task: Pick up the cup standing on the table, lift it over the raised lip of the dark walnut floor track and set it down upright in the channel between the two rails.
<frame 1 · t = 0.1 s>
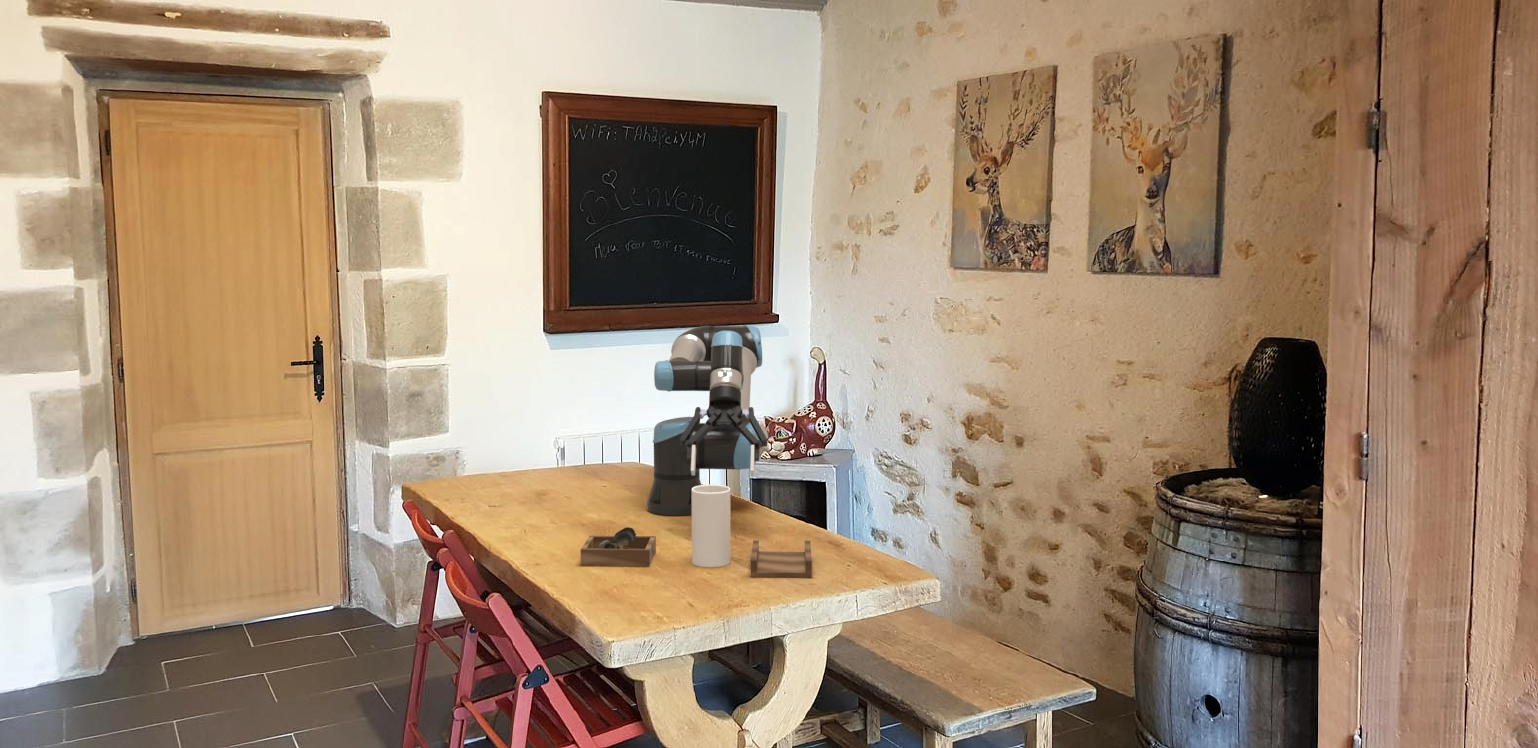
hand: (722, 473, 261), 15 cm above the table, tool tilted 35°, fingers open, 13 cm apart
figurine frame: (619, 558, 246), on the table
cup: (711, 563, 244), on the table
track: (781, 566, 240), on the table
eagle figurine: (618, 560, 246), resting in figurine frame
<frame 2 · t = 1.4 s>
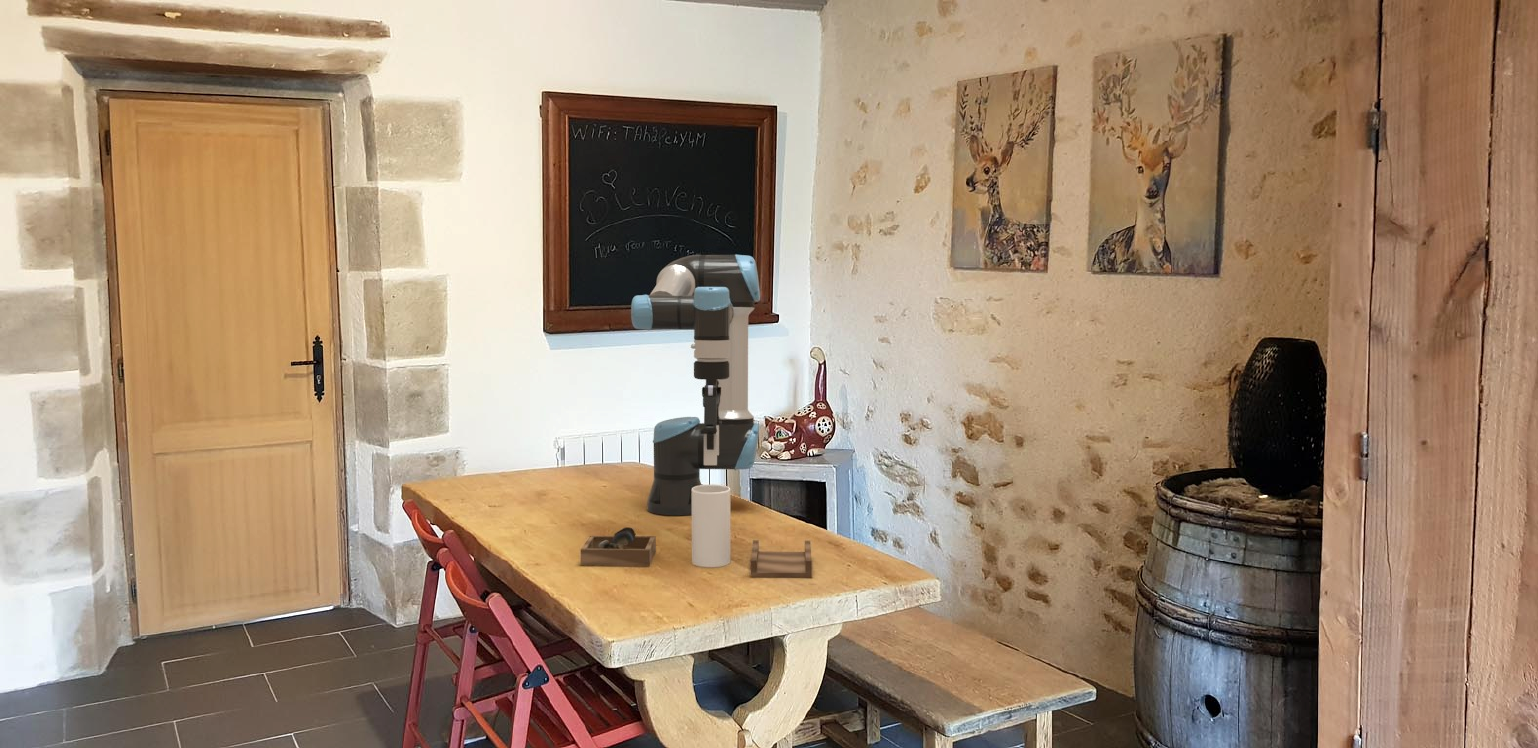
hand: (711, 460, 242), 22 cm above the table, tool pointing down, fingers open, 13 cm apart
nothing on the table moved.
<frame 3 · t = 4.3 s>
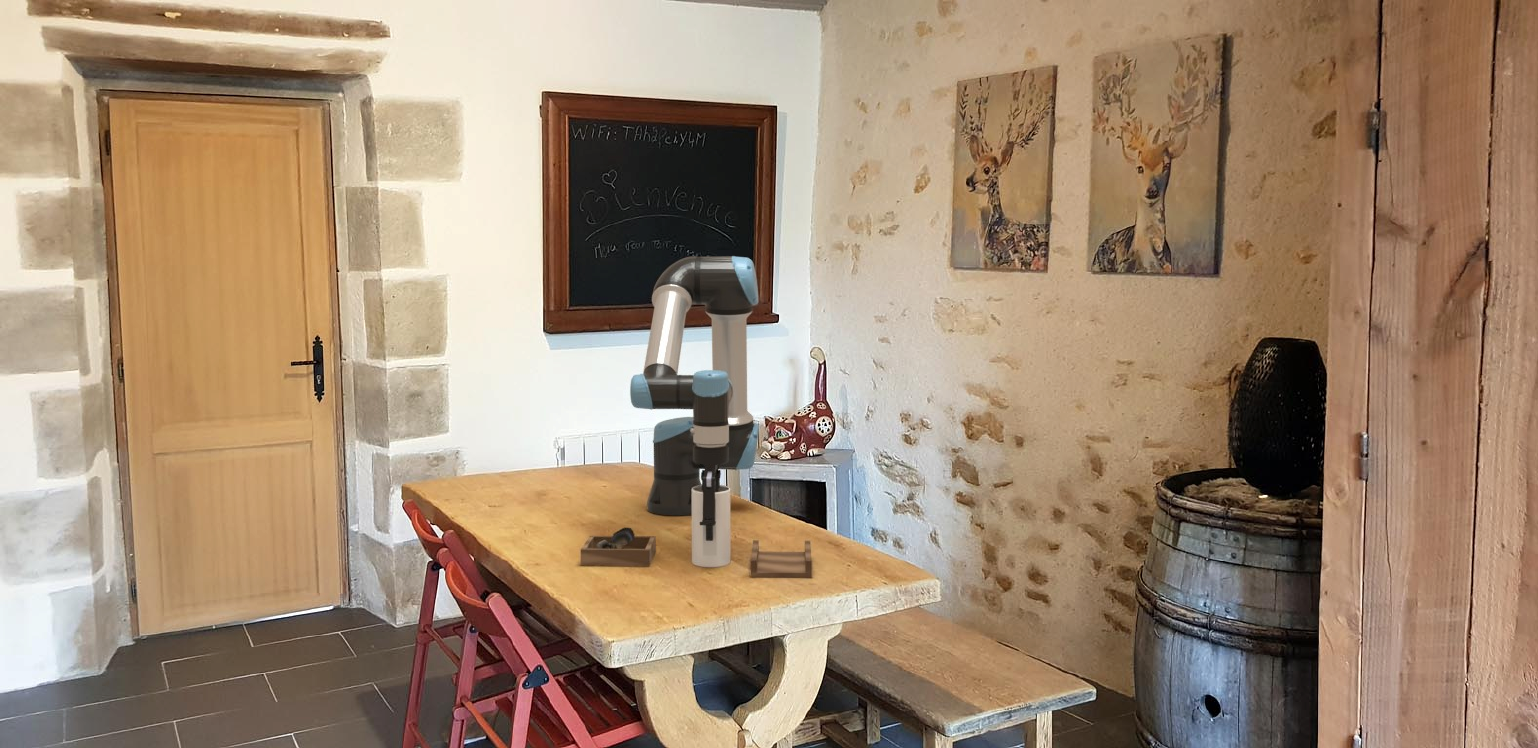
hand: (711, 549, 243), 3 cm above the table, tool pointing down, fingers closed on cup, 8 cm apart
cup: (711, 562, 244), on the table, touching gripper
everything else where it was.
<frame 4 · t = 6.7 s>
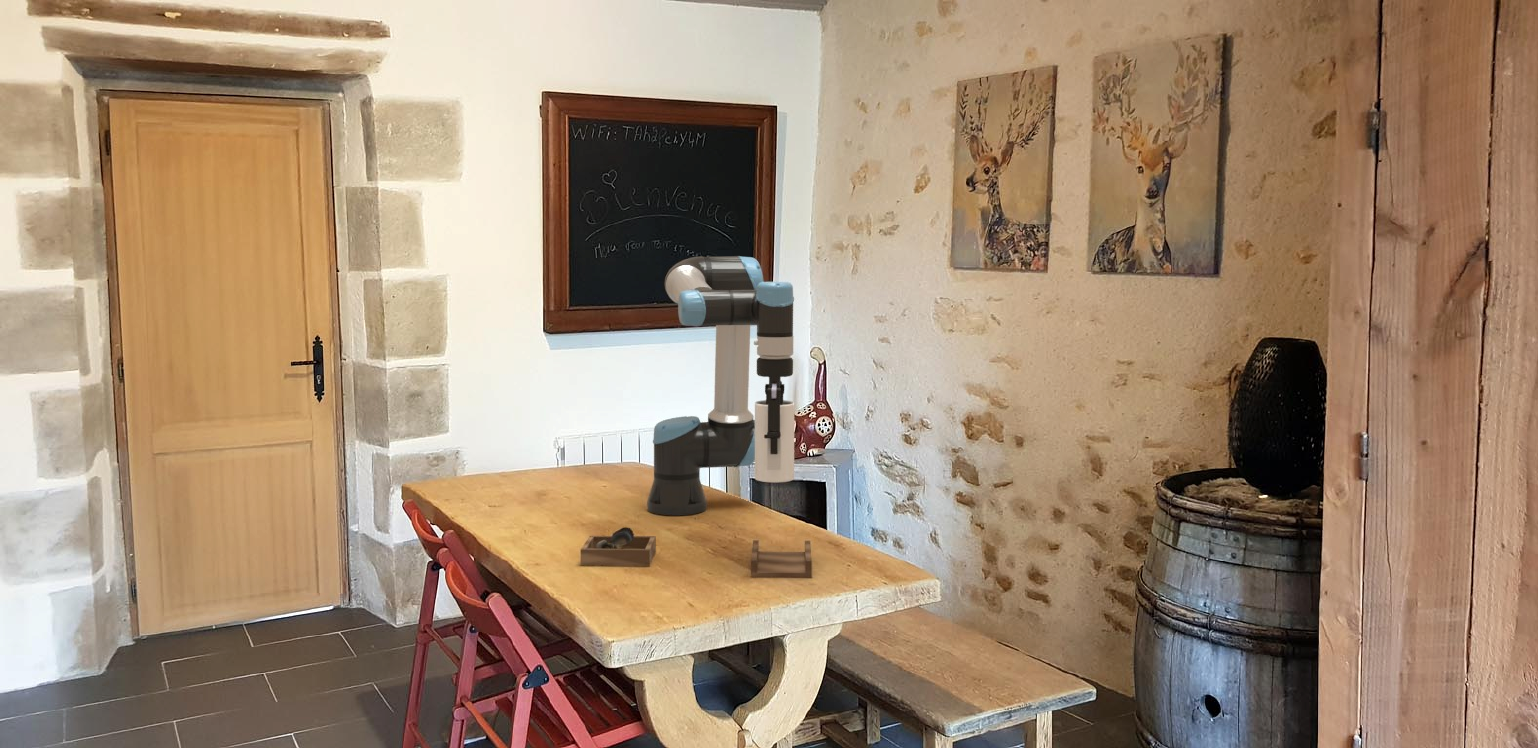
hand: (774, 465, 238), 22 cm above the table, tool pointing down, fingers closed on cup, 8 cm apart
cup: (774, 479, 238), point 19 cm above the table, touching gripper
everything else where it was.
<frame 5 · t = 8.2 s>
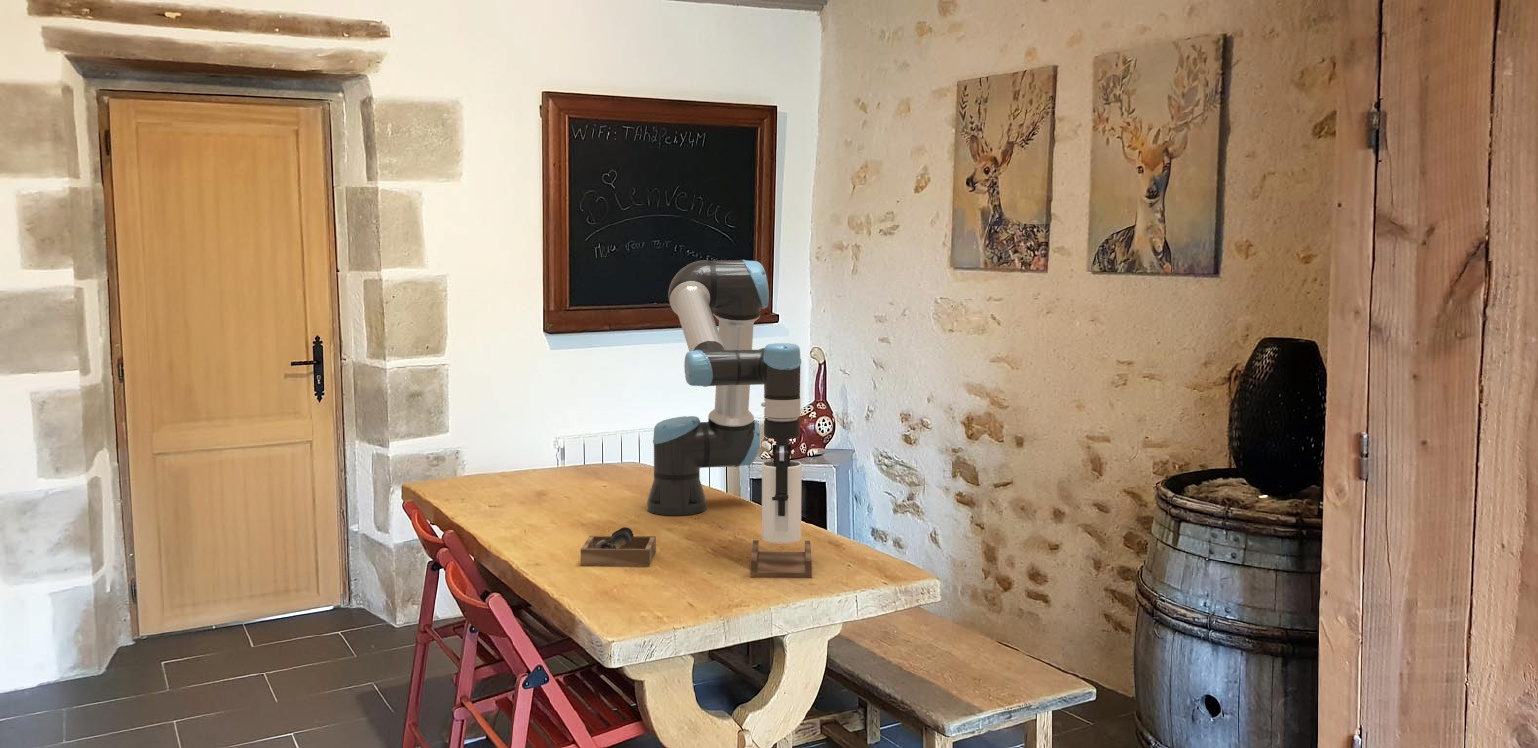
hand: (781, 525, 239), 9 cm above the table, tool pointing down, fingers closed on cup, 8 cm apart
cup: (781, 539, 240), point 6 cm above the table, touching gripper
everything else where it was.
when the fingers open (5 cm above the table, at t = 9.6 s): cup drops 1 cm, resting on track.
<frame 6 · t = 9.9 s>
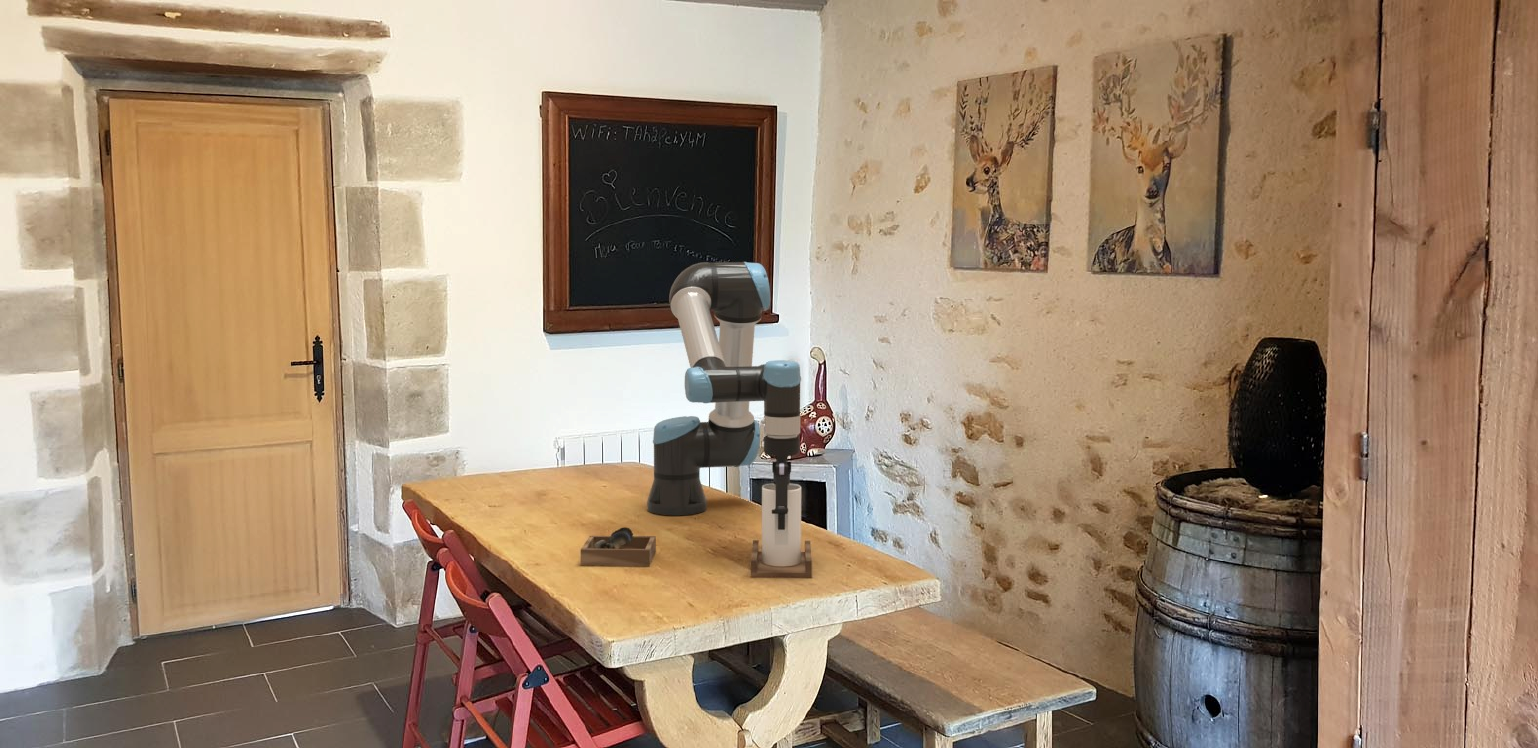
hand: (781, 536, 240), 7 cm above the table, tool pointing down, fingers open, 12 cm apart
cup: (781, 562, 240), point 1 cm above the table, touching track
everything else where it was.
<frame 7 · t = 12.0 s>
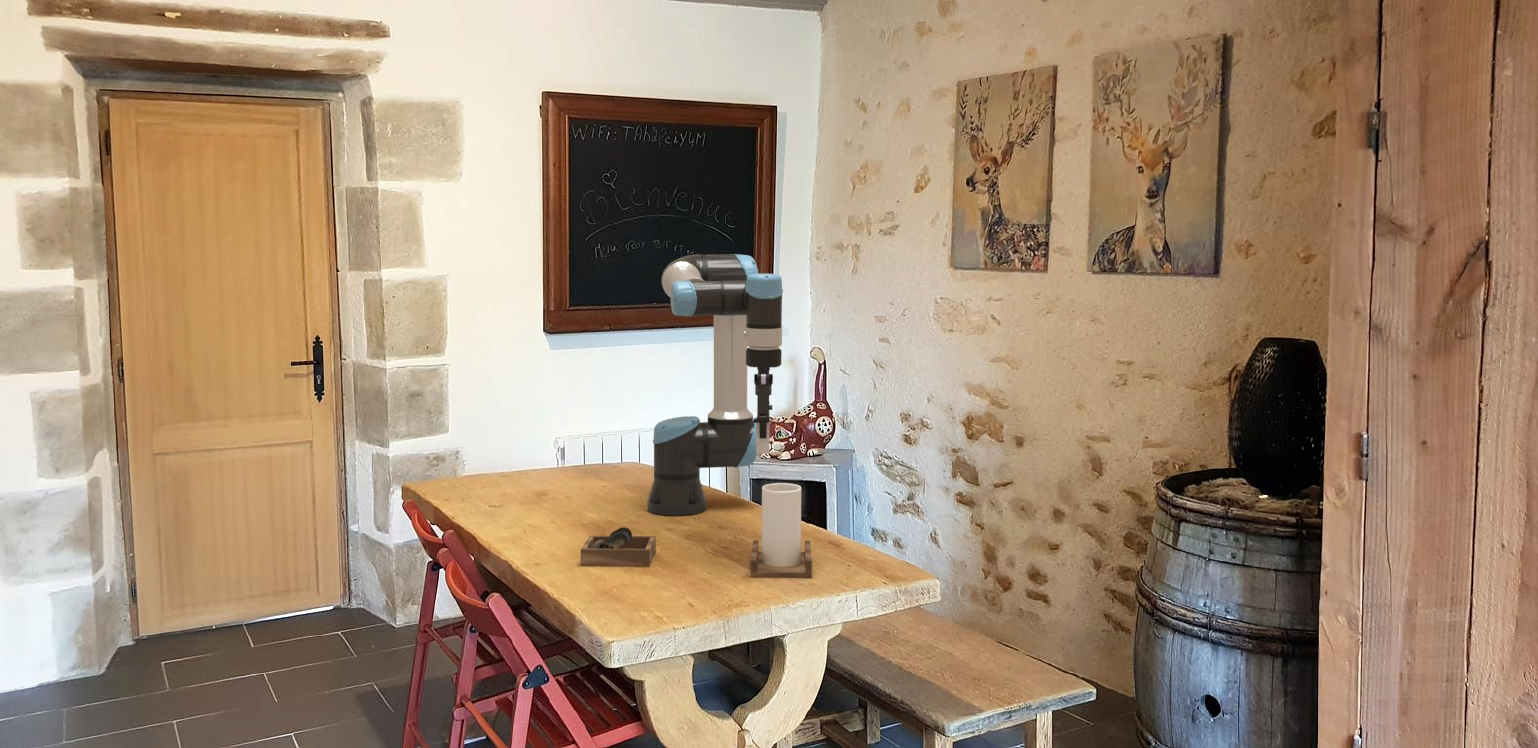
hand: (763, 446, 243), 25 cm above the table, tool pointing down, fingers open, 13 cm apart
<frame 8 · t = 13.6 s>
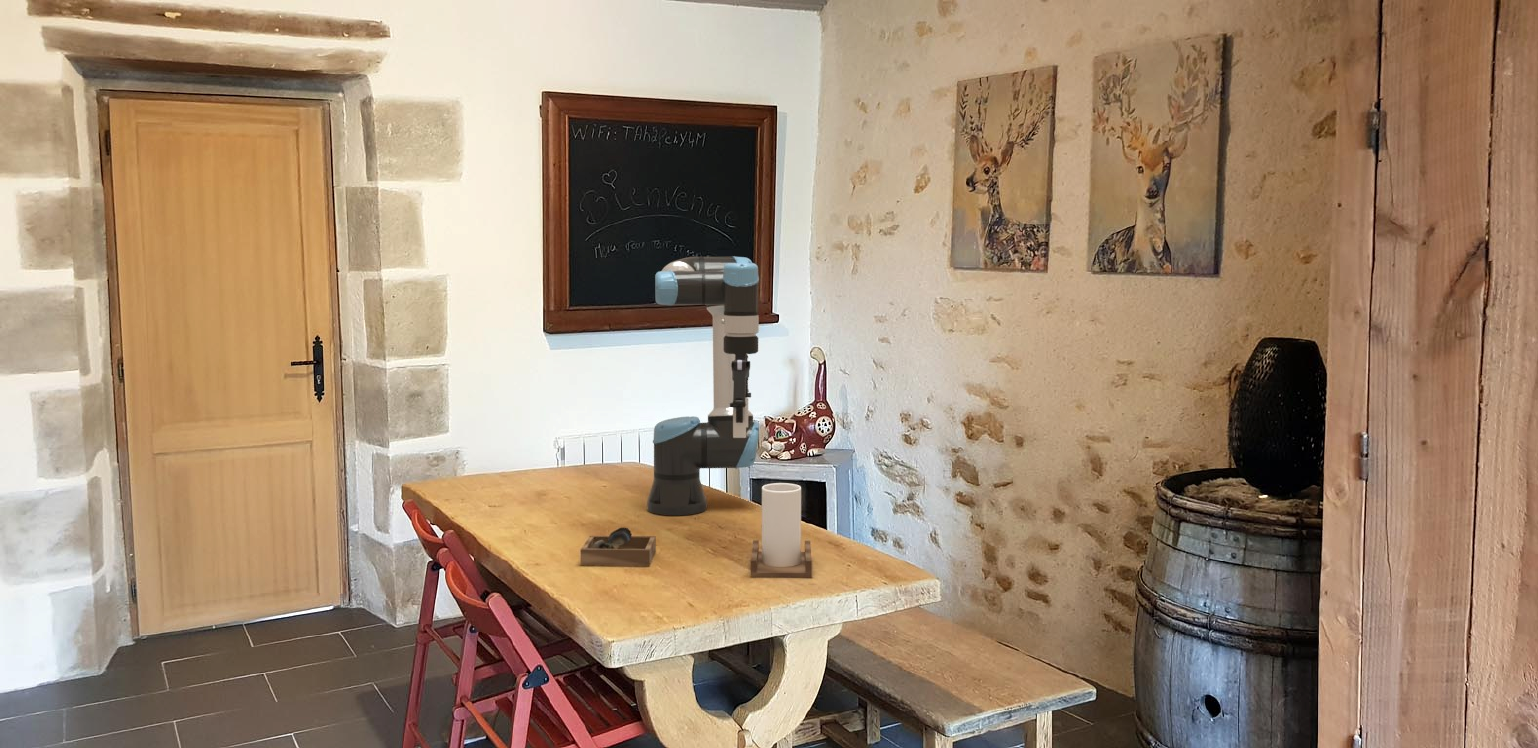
hand: (740, 432, 248), 27 cm above the table, tool pointing down, fingers open, 13 cm apart
at the end: cup inside the target area on the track (0.1 cm from its centre), point 0.8 cm above the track's base; cup tilted 0°; the gripper is holding nothing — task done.
